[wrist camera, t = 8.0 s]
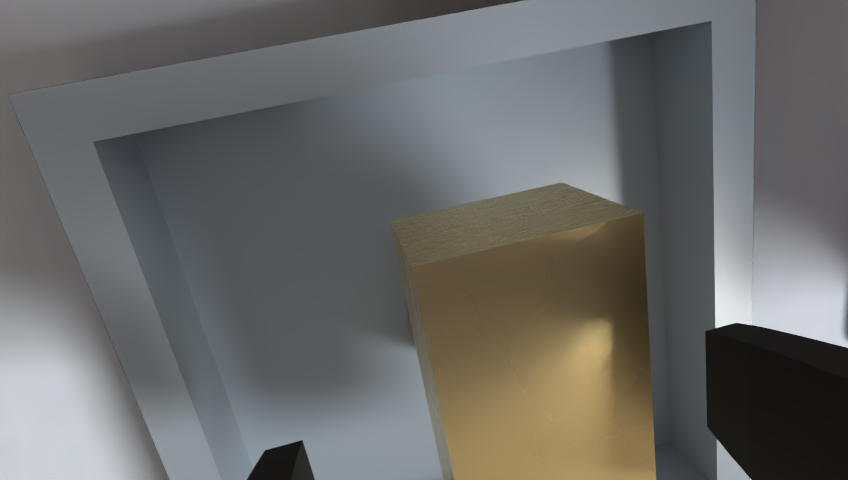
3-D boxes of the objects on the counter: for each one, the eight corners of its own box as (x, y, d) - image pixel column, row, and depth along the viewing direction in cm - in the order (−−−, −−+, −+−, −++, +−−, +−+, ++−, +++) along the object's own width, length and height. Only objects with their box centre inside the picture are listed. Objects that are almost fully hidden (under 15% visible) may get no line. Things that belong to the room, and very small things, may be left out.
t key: (521, 427, 15) (665, 675, 8) (427, 453, 14) (504, 731, 8) (482, 152, 12) (643, 212, 6) (368, 176, 12) (412, 267, 6)
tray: (675, -16, 12) (756, -42, 10) (690, 448, 17) (749, 507, 14) (78, 94, 11) (7, 94, 8) (261, 577, 15) (248, 667, 13)
